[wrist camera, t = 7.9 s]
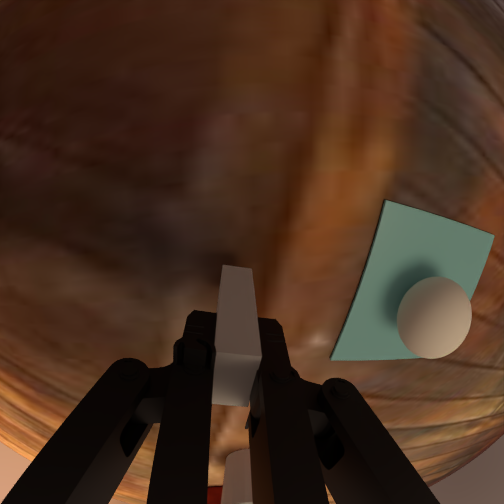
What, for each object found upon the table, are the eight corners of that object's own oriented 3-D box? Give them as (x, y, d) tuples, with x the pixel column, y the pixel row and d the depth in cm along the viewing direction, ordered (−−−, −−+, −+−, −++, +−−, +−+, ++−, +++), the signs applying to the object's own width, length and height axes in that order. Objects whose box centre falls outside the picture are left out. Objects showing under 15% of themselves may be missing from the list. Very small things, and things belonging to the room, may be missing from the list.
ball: (411, 256, 18) (417, 283, 13) (473, 278, 16) (494, 311, 11) (386, 320, 20) (381, 361, 15) (444, 339, 18) (452, 383, 13)
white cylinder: (222, 444, 24) (221, 502, 17) (287, 445, 25) (296, 500, 18) (219, 468, 26) (218, 516, 20) (275, 469, 27) (281, 516, 20)
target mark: (384, 199, 15) (386, 200, 15) (493, 234, 17) (494, 235, 16) (329, 358, 20) (330, 360, 19) (439, 354, 21) (440, 355, 21)
